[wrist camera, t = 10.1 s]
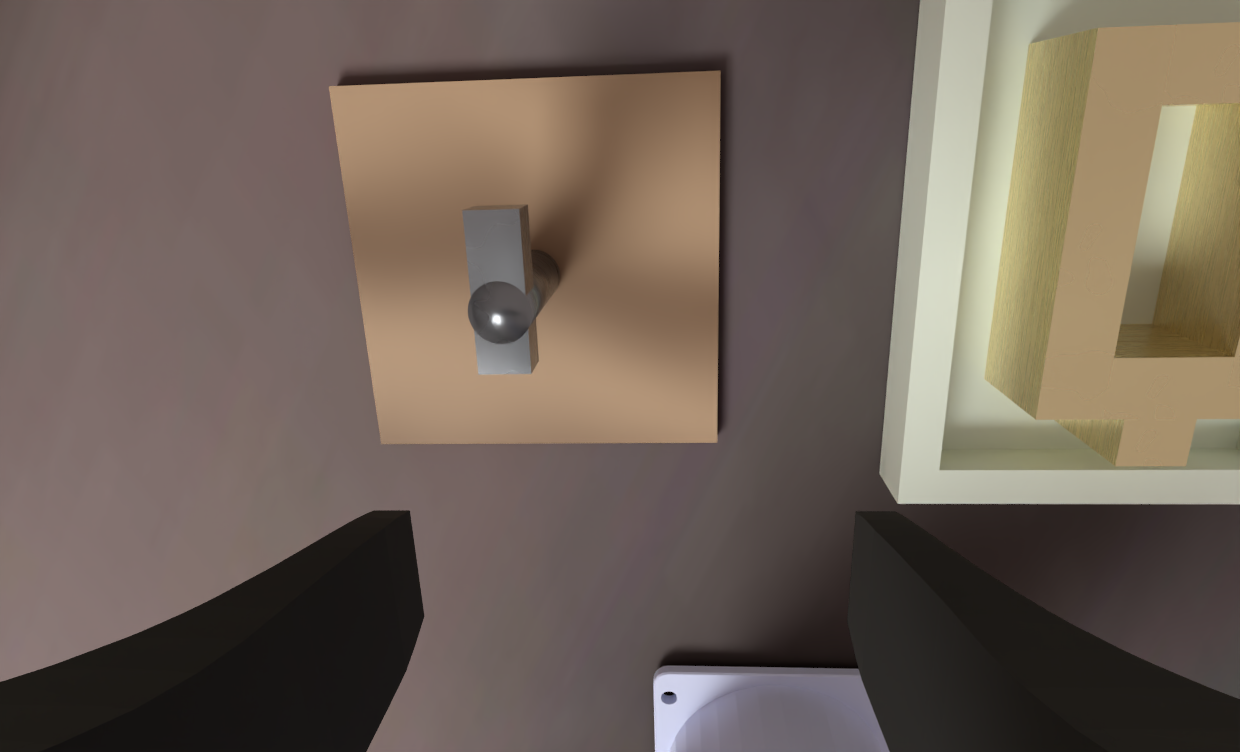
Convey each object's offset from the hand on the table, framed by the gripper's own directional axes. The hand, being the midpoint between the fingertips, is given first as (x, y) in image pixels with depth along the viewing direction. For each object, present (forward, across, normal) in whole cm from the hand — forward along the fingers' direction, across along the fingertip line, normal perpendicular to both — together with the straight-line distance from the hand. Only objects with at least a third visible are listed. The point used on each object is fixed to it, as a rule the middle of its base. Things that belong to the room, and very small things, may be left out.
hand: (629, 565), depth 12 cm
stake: (+10, +3, -3) cm, 11 cm away
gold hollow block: (+9, -12, -4) cm, 16 cm away
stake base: (+10, +3, -3) cm, 11 cm away
